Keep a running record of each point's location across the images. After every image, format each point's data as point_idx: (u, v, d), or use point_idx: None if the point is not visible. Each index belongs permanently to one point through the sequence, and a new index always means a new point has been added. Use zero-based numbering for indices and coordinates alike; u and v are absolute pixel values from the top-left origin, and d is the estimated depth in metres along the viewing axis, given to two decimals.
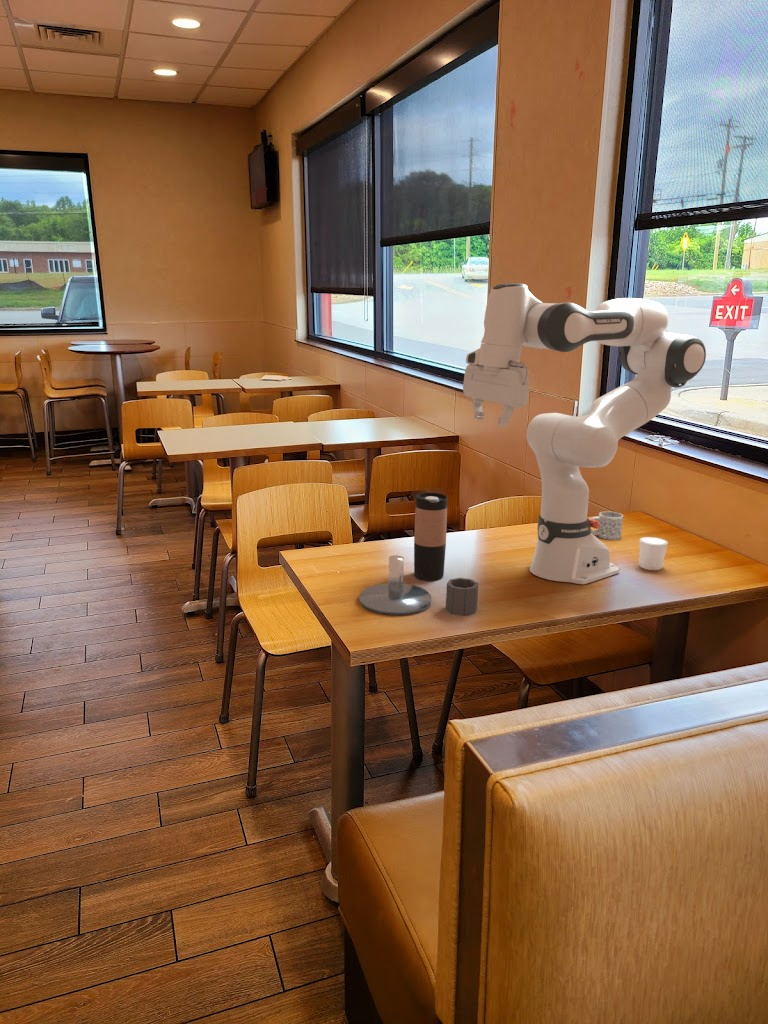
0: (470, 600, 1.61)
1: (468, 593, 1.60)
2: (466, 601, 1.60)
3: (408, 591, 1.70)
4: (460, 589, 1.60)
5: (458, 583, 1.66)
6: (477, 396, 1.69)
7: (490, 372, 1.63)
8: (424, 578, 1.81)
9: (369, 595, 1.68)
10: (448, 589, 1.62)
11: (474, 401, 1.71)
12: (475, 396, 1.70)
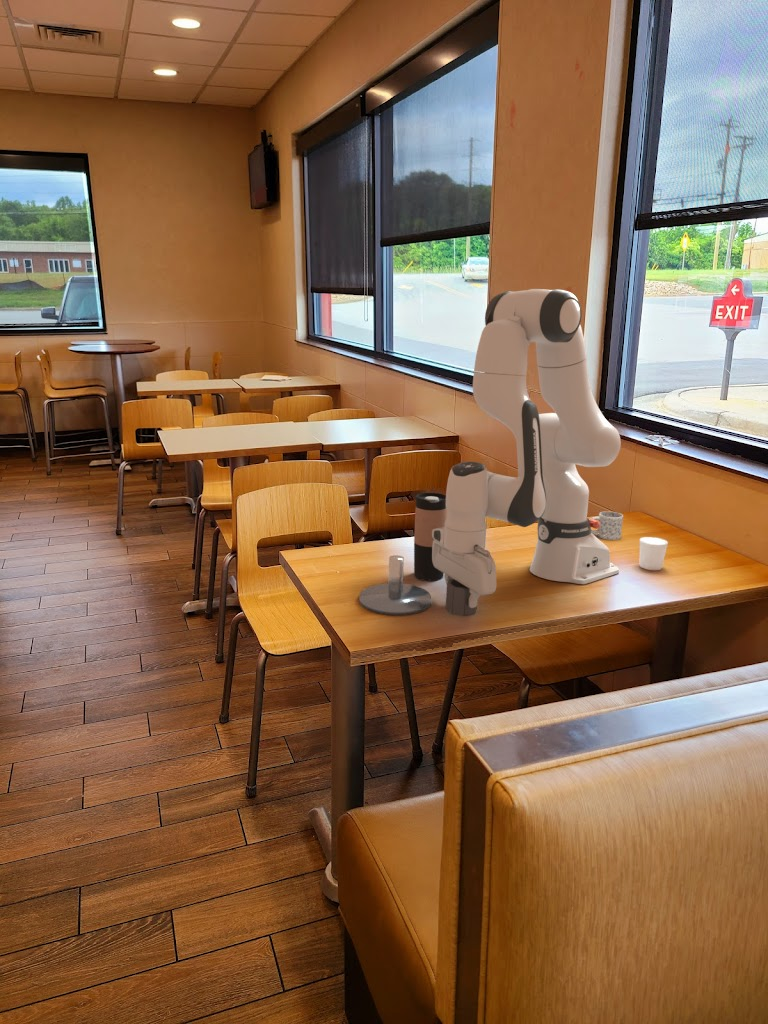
0: None
1: (468, 593, 1.60)
2: (466, 601, 1.60)
3: (408, 591, 1.70)
4: (460, 589, 1.60)
5: (458, 583, 1.66)
6: (446, 573, 1.65)
7: (456, 556, 1.59)
8: (424, 578, 1.81)
9: (369, 595, 1.68)
10: (448, 589, 1.62)
11: (446, 576, 1.67)
12: (444, 572, 1.66)
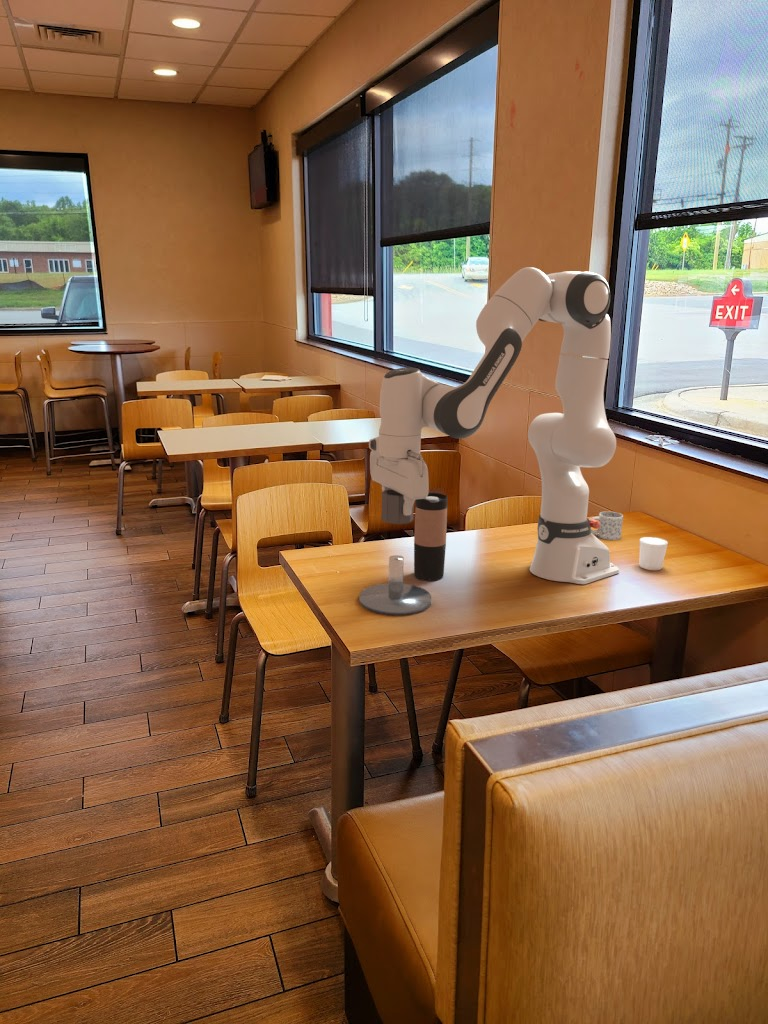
0: None
1: (402, 501, 1.59)
2: (400, 509, 1.59)
3: (408, 591, 1.70)
4: (394, 497, 1.59)
5: (394, 494, 1.64)
6: (382, 483, 1.64)
7: (390, 462, 1.57)
8: (424, 578, 1.81)
9: (369, 595, 1.68)
10: (383, 498, 1.61)
11: (383, 487, 1.65)
12: (381, 483, 1.64)
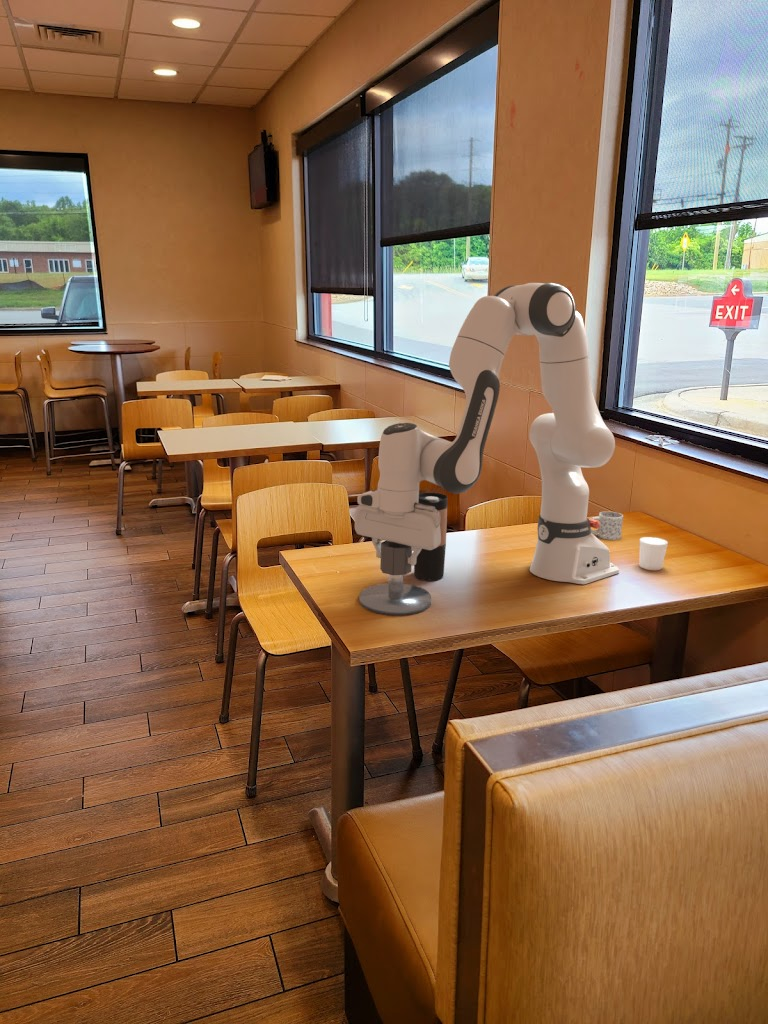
0: None
1: (407, 552, 1.63)
2: (406, 560, 1.63)
3: (408, 591, 1.70)
4: (400, 549, 1.62)
5: (388, 545, 1.66)
6: (377, 537, 1.65)
7: (396, 516, 1.60)
8: (424, 578, 1.81)
9: (369, 595, 1.68)
10: (386, 552, 1.62)
11: (375, 540, 1.66)
12: (374, 536, 1.65)
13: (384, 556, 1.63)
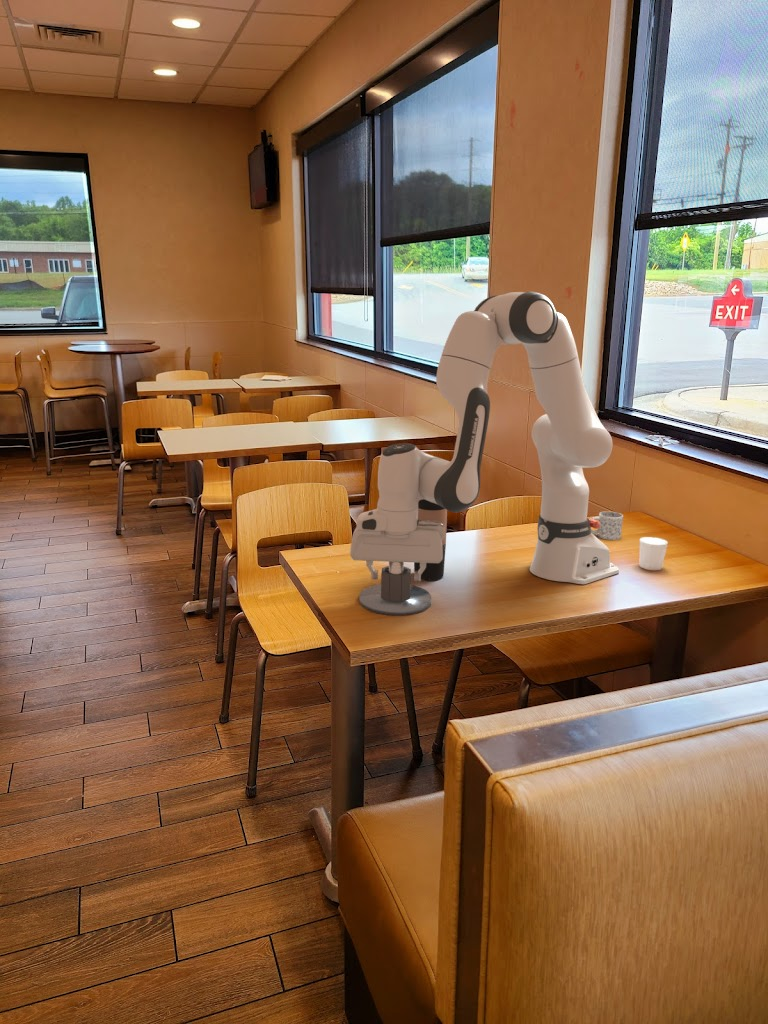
0: (410, 582, 1.67)
1: (410, 576, 1.66)
2: None
3: None
4: (406, 575, 1.64)
5: None
6: (378, 559, 1.64)
7: (403, 536, 1.61)
8: (424, 578, 1.81)
9: (369, 595, 1.68)
10: (393, 580, 1.64)
11: (370, 563, 1.65)
12: (375, 559, 1.64)
13: (390, 584, 1.64)
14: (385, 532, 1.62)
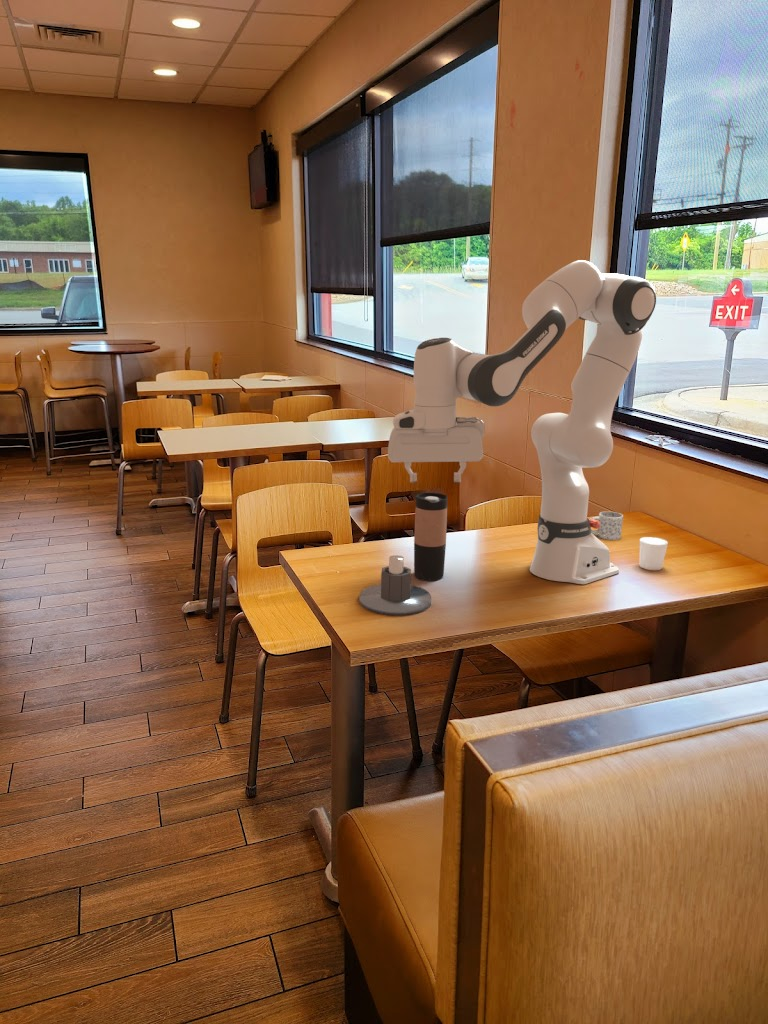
0: (410, 582, 1.67)
1: (410, 576, 1.66)
2: None
3: None
4: (406, 575, 1.64)
5: None
6: (417, 459, 1.60)
7: (442, 433, 1.57)
8: (424, 578, 1.81)
9: (369, 595, 1.68)
10: (393, 580, 1.64)
11: (408, 465, 1.61)
12: (413, 460, 1.60)
13: (390, 584, 1.64)
14: (423, 431, 1.58)
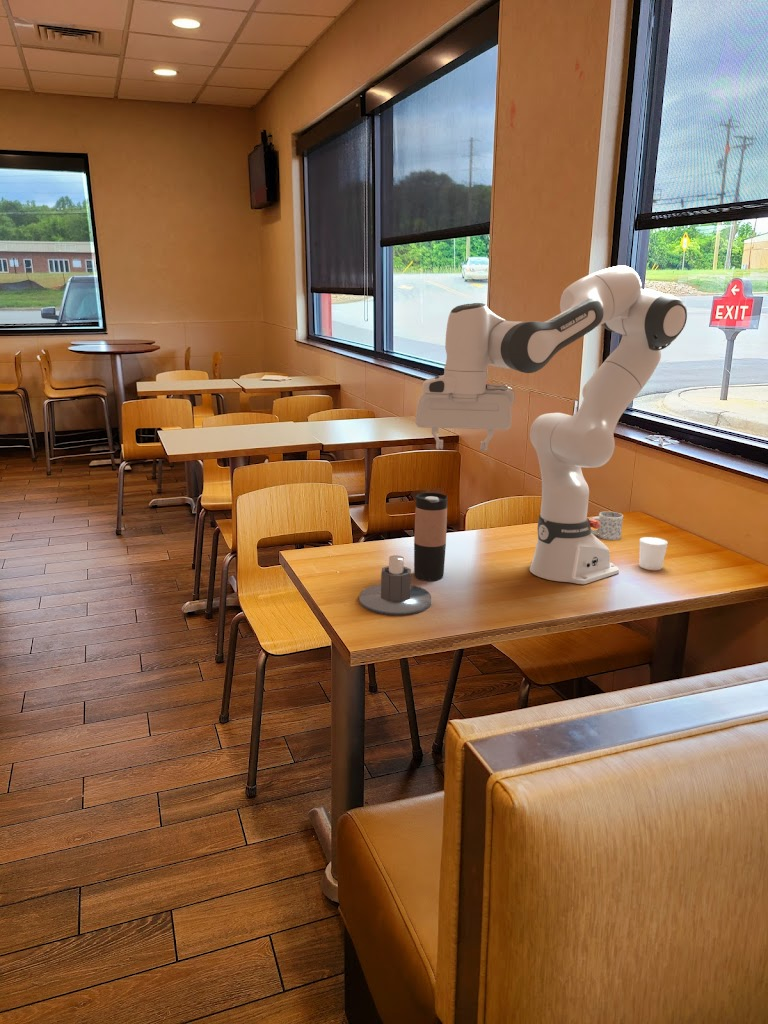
0: (410, 582, 1.67)
1: (410, 576, 1.66)
2: None
3: None
4: (406, 575, 1.64)
5: None
6: (445, 425, 1.58)
7: (471, 399, 1.56)
8: (424, 578, 1.81)
9: (369, 595, 1.68)
10: (393, 580, 1.64)
11: (435, 431, 1.60)
12: (441, 426, 1.59)
13: (390, 584, 1.64)
14: (452, 396, 1.57)
